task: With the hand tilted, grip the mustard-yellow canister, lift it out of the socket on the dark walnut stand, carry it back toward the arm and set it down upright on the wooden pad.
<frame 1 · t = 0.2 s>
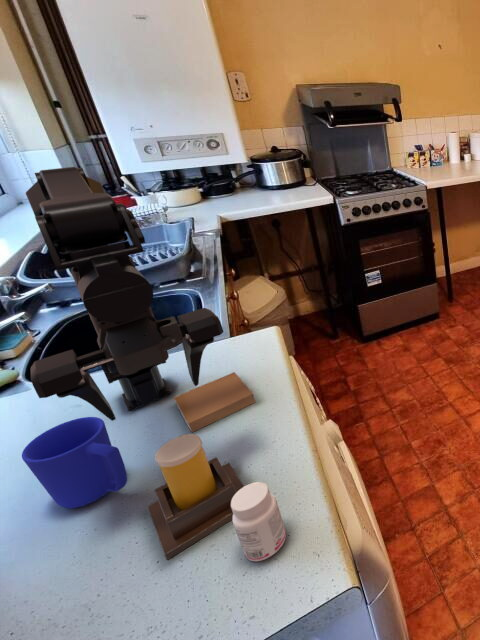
hand: (156, 400, 60), 14 cm above the countertop, tool pointing down, fingers open, 9 cm apart
mug: (102, 493, 63), on the countertop
wooden pad: (216, 404, 80), on the countertop
pill bottle: (266, 544, 56), on the countertop
yellow canister: (198, 498, 60), point 2 cm above the countertop, touching stand
stand: (202, 508, 60), on the countertop
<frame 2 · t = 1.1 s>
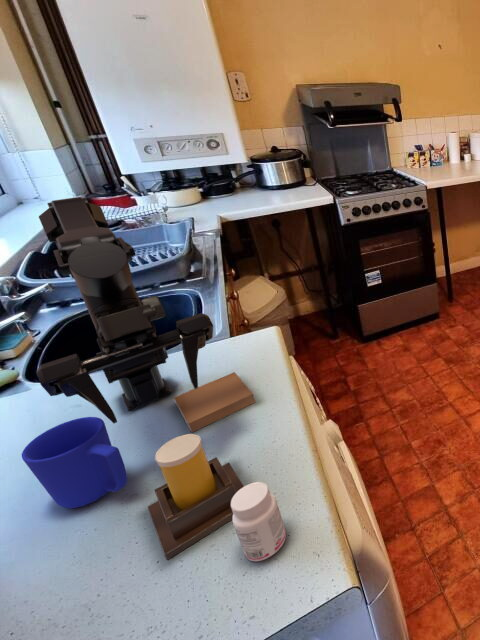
hand: (158, 404, 61), 13 cm above the countertop, tool tilted 45°, fingers open, 9 cm apart
nothing on the countertop moved.
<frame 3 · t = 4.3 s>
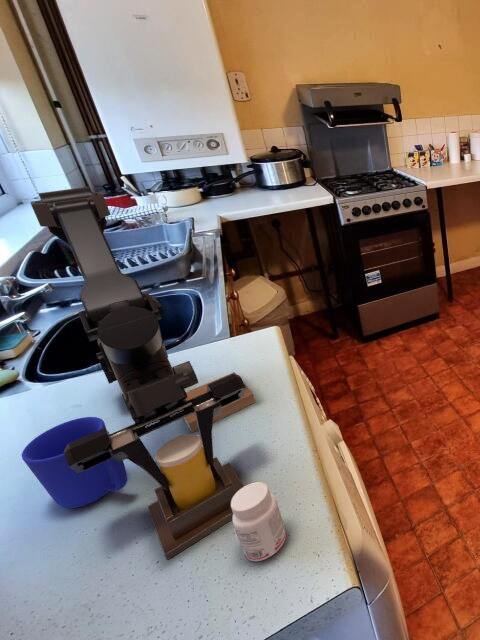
hand: (190, 477, 57), 7 cm above the countertop, tool tilted 45°, fingers closed on yellow canister, 4 cm apart
yellow canister: (198, 498, 60), point 2 cm above the countertop, touching gripper, stand
everything else where it was.
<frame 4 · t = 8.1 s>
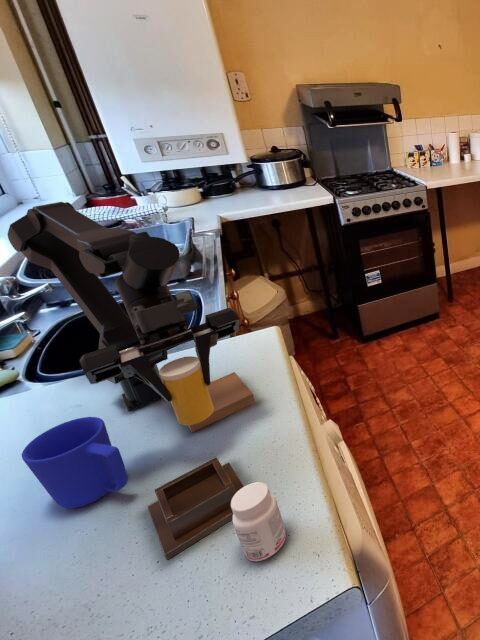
hand: (189, 393, 64), 12 cm above the countertop, tool tilted 45°, fingers closed on yellow canister, 4 cm apart
yellow canister: (196, 414, 67), point 8 cm above the countertop, touching gripper
everything else where it was.
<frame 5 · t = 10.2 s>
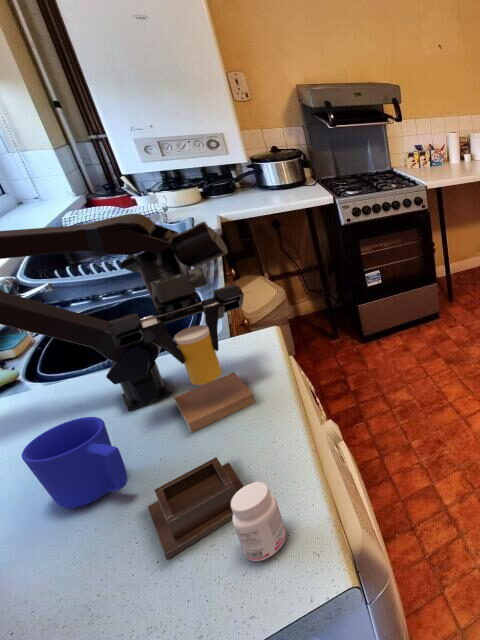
hand: (200, 356, 74), 12 cm above the countertop, tool tilted 45°, fingers closed on yellow canister, 4 cm apart
yellow canister: (206, 376, 77), point 7 cm above the countertop, touching gripper
everything else where it was.
when the fingers open (7 cm above the countertop, at t = 12.0 s): yellow canister stays where it is, resting on wooden pad.
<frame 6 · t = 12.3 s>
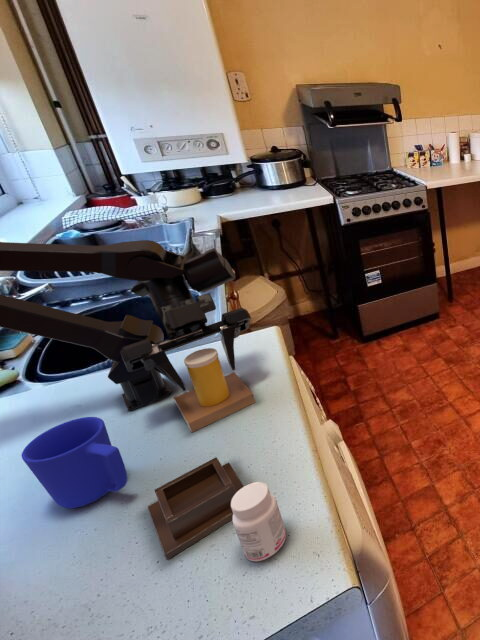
hand: (210, 379, 76), 7 cm above the countertop, tool tilted 45°, fingers open, 7 cm apart
yellow canister: (214, 397, 79), point 2 cm above the countertop, touching wooden pad
everything else where it was.
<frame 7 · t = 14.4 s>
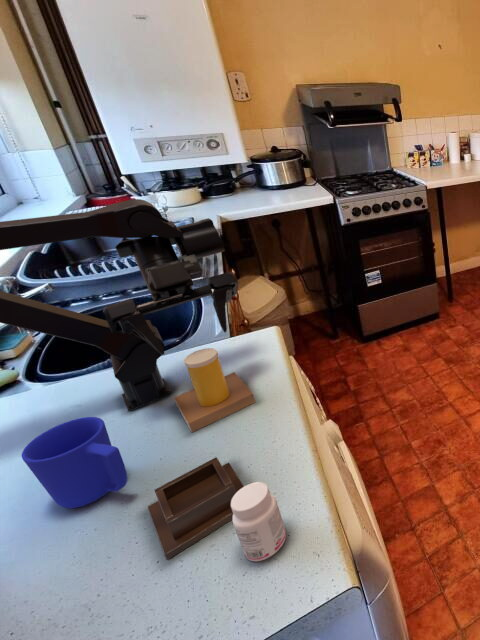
hand: (195, 342, 75), 14 cm above the countertop, tool tilted 45°, fingers open, 9 cm apart
nothing on the countertop moved.
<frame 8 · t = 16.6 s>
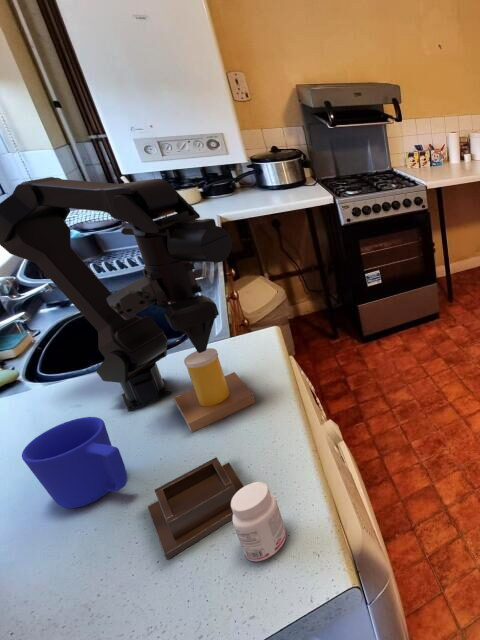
hand: (194, 342, 76), 13 cm above the countertop, tool pointing down, fingers open, 9 cm apart
nothing on the countertop moved.
at the end: yellow canister inside the target area on the wooden pad (1.0 cm from its centre), point 2.0 cm above the wooden pad's base; yellow canister tilted 0°; yellow canister touching wooden pad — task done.
